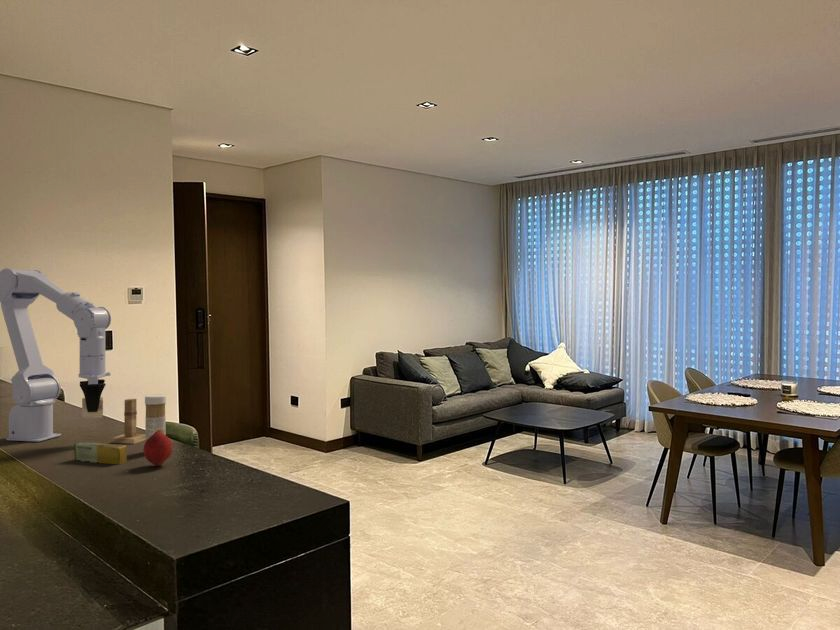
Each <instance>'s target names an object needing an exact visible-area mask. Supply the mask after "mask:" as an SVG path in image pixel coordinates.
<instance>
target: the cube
mask: <svg viewBox="0 0 840 630" xmlns="http://www.w3.org/2000/svg"><path fill="white" fill-rule="evenodd" d="M103 399H104V398H103V396H101V397H100V402H99V408H98V411H97V412H88V411H87V407H86V401H85V397H82V398H81V403H82V405H81V409H82V410H81V411H82V412H81V417H82V418H81V419H82V420H86V419H87V420H88V419H101V418H104V400H103Z"/></svg>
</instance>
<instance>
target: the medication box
mask: <svg viewBox="0 0 840 630" xmlns="http://www.w3.org/2000/svg"><path fill="white" fill-rule="evenodd" d="M73 447H74V448H73V450H74V451H73V452H74V461H75V460H81V461H80V462H85V461H90V462H89V463H97V462H99V463H101V464H110V465H122V464H125V463H127V462H128V455H127V454H128V452H127V451H128V450H127V445H125V444H116V443H113V444H112V443H101V442H92V441H91V442H89V441H80V442H76V443H74V445H73ZM99 463H98V464H99Z"/></svg>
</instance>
